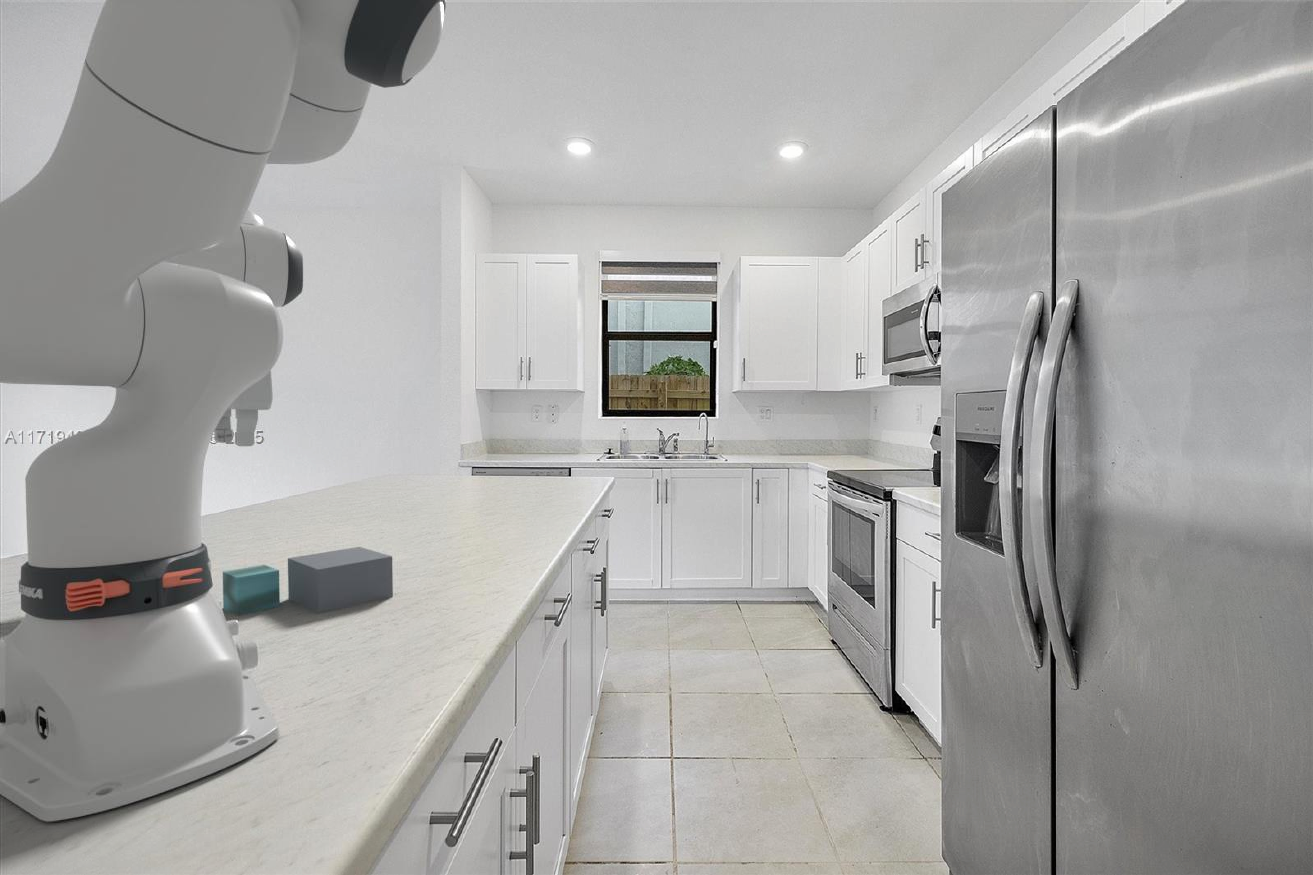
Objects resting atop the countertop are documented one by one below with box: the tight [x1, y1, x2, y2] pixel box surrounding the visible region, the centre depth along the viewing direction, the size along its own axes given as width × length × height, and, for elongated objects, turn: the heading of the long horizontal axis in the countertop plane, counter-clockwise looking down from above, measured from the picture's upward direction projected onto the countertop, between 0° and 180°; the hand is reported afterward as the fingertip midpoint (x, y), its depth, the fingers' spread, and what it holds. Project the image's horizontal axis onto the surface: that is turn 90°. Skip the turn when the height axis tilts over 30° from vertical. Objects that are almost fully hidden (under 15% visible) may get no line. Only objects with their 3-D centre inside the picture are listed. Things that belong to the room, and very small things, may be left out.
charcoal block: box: [287, 546, 394, 614], centre depth 89 cm, size 10×10×6 cm
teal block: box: [222, 564, 281, 617], centre depth 85 cm, size 5×5×5 cm
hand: (233, 444), depth 84 cm, fingers open, 8 cm apart
